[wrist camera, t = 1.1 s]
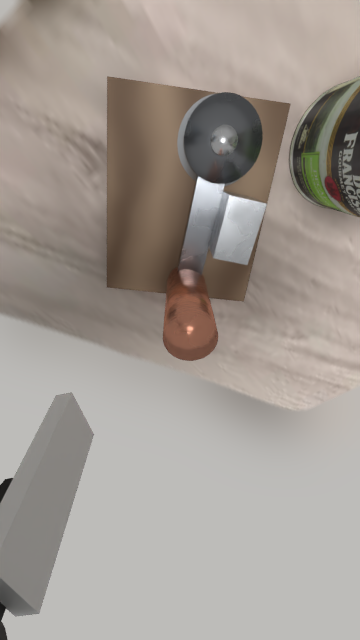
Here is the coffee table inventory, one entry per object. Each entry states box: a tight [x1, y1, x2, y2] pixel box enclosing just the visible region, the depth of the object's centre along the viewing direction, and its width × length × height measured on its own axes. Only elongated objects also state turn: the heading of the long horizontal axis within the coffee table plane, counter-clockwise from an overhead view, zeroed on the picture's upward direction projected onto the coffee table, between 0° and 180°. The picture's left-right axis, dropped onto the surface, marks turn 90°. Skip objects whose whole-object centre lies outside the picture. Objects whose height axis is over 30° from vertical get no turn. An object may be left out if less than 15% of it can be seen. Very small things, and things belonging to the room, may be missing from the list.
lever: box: [163, 92, 267, 361], centre depth 23 cm, size 18×7×11 cm, turn 168°
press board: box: [107, 76, 290, 301], centre depth 29 cm, size 15×18×2 cm
